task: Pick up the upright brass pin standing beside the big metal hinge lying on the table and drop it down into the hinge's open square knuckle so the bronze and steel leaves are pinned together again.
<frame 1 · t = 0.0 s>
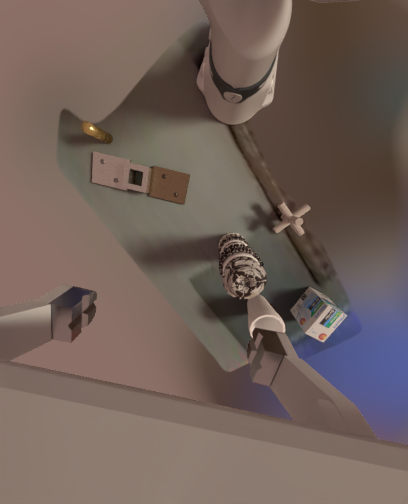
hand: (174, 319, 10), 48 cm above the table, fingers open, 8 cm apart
light bulb box: (306, 302, 63), on the table
decorative candle: (232, 246, 58), on the table
pipe connector: (283, 216, 55), on the table
brass pin: (108, 138, 51), on the table
foam cup: (256, 302, 63), on the table
hinge: (141, 178, 53), on the table
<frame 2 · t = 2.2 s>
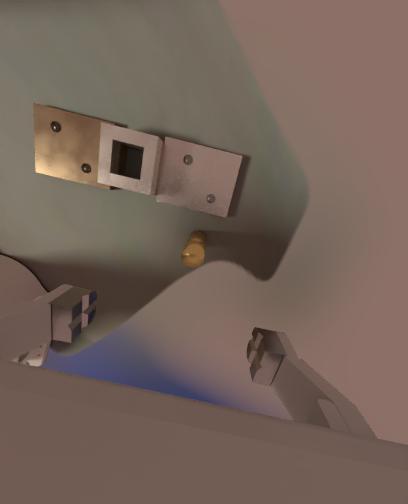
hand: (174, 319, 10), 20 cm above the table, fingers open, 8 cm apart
brass pin: (198, 238, 28), on the table
hinge: (139, 165, 26), on the table
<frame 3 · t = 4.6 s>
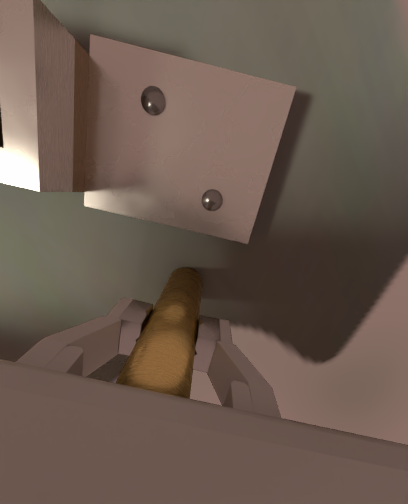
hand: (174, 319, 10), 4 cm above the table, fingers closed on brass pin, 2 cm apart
brass pin: (185, 282, 14), on the table, touching gripper
hinge: (42, 122, 11), on the table
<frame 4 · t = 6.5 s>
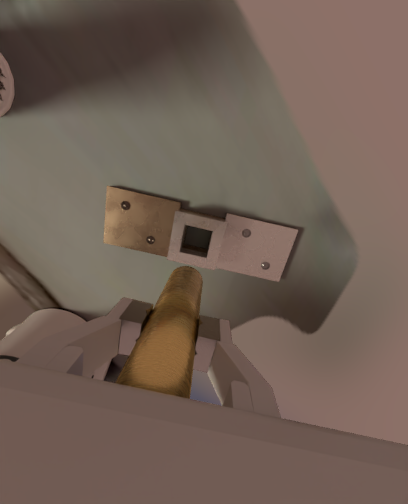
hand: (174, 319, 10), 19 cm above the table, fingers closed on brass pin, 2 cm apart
brass pin: (186, 281, 14), point 15 cm above the table, touching gripper
hinge: (198, 235, 28), on the table
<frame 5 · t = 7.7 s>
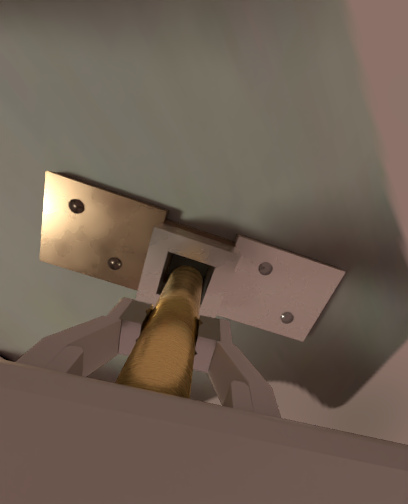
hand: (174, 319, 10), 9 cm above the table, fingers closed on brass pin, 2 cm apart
brass pin: (186, 280, 14), point 4 cm above the table, touching gripper
hinge: (190, 262, 18), on the table
when the fingers open (6 cm above the table, at t = 8.4 s): brass pin drops 1 cm, resting in hinge.
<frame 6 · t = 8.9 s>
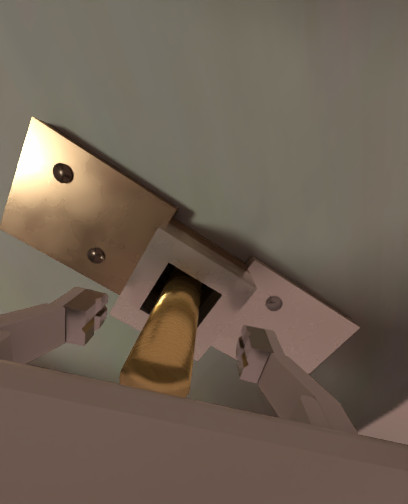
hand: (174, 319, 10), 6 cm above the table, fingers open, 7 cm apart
brass pin: (187, 274, 15), resting in hinge
hinge: (188, 274, 15), on the table
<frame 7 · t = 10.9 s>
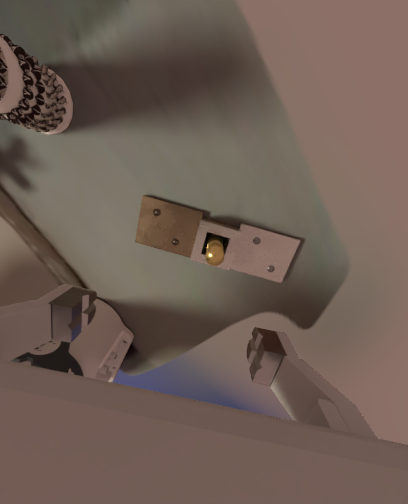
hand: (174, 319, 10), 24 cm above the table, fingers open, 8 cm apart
decorative candle: (46, 103, 28), on the table
brass pin: (215, 240, 33), resting in hinge
hinge: (215, 239, 33), on the table
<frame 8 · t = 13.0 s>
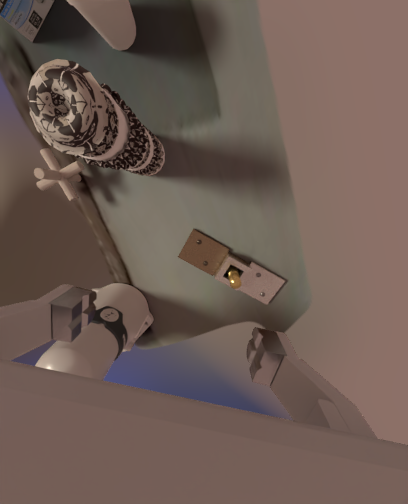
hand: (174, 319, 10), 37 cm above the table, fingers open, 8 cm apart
light bulb box: (32, 2, 35), on the table
decorative candle: (146, 155, 42), on the table
pipe connector: (77, 177, 44), on the table
brass pin: (231, 267, 48), resting in hinge
foam cup: (120, 29, 35), on the table
hinge: (231, 267, 48), on the table
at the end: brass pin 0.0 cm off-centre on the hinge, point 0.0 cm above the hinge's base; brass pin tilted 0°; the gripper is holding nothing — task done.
